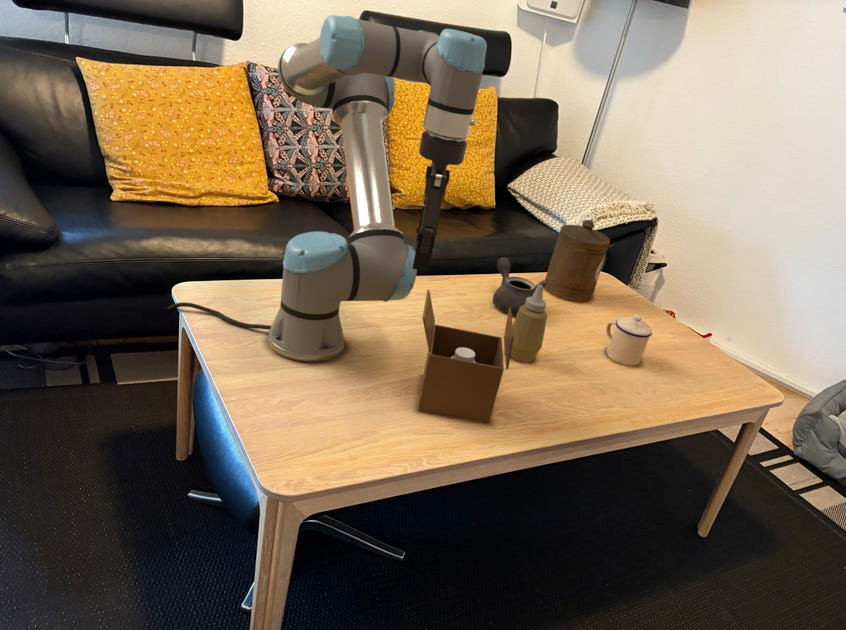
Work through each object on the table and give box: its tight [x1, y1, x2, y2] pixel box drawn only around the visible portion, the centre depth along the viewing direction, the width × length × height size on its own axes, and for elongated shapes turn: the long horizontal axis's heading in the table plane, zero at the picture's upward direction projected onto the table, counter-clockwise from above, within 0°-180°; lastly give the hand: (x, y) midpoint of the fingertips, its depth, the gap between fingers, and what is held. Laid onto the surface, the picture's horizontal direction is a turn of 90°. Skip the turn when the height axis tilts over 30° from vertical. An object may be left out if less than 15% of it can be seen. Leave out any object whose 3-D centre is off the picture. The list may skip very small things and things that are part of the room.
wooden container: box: [544, 219, 611, 303], centre depth 195 cm, size 15×15×22 cm
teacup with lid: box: [605, 314, 653, 367], centre depth 167 cm, size 12×9×12 cm
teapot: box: [492, 257, 547, 316], centre depth 181 cm, size 19×15×10 cm
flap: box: [421, 289, 436, 352], centre depth 126 cm, size 7×13×1 cm
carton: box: [417, 307, 514, 425], centre depth 130 cm, size 15×13×19 cm
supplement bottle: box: [451, 347, 476, 363], centre depth 133 cm, size 6×6×10 cm
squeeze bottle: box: [510, 285, 548, 363], centre depth 153 cm, size 8×8×18 cm
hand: (421, 254), depth 121 cm, fingers open, 13 cm apart
